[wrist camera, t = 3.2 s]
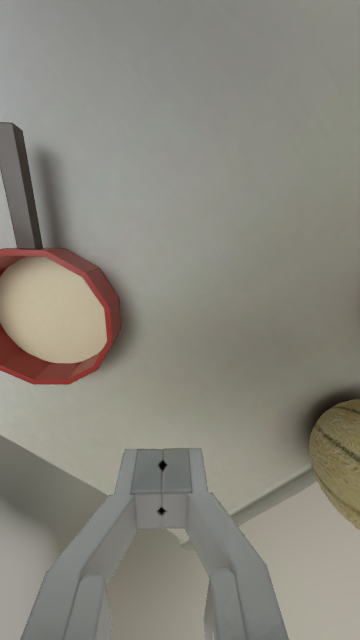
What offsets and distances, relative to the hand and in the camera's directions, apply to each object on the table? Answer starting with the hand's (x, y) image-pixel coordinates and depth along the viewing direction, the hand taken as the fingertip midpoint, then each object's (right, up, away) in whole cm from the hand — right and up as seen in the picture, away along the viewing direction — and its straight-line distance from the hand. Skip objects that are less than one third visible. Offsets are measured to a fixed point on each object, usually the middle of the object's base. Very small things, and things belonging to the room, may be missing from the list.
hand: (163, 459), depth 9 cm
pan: (-13, +11, +15) cm, 22 cm away
